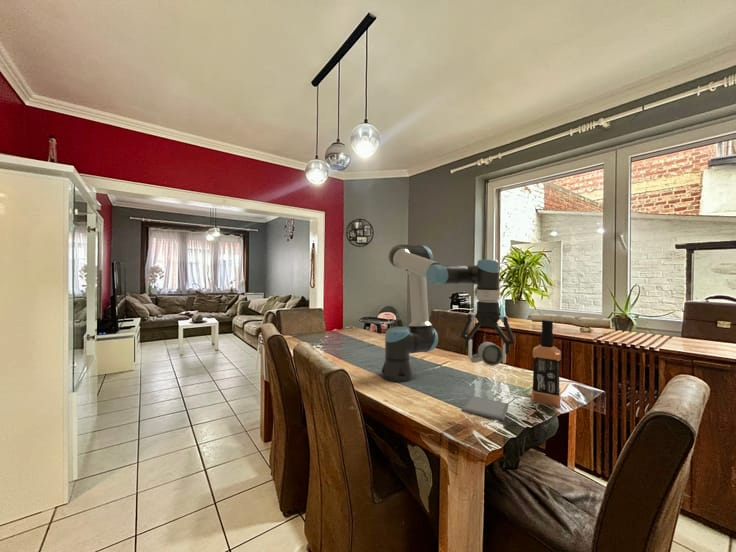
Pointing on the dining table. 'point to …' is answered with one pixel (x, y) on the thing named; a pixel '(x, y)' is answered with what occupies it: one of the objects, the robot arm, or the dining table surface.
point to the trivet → (486, 407)
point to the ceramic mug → (488, 354)
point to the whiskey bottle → (546, 368)
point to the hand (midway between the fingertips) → (486, 359)
